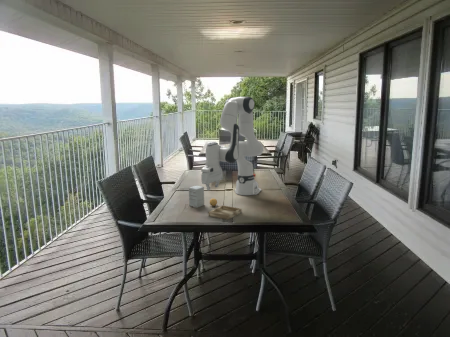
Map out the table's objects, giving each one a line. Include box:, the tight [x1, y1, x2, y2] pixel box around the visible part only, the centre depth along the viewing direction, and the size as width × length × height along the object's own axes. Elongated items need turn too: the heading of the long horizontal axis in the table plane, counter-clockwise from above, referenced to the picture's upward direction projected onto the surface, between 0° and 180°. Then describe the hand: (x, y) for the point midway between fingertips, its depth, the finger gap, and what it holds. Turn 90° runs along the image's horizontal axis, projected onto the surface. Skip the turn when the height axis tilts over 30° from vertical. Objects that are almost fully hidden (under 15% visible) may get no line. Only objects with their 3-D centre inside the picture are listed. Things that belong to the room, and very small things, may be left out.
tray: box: [207, 204, 243, 221], centre depth 215 cm, size 16×14×2 cm
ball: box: [209, 197, 218, 207], centre depth 232 cm, size 5×5×5 cm
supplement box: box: [188, 185, 205, 208], centre depth 232 cm, size 7×7×13 cm
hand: (212, 188), depth 230 cm, fingers open, 8 cm apart
